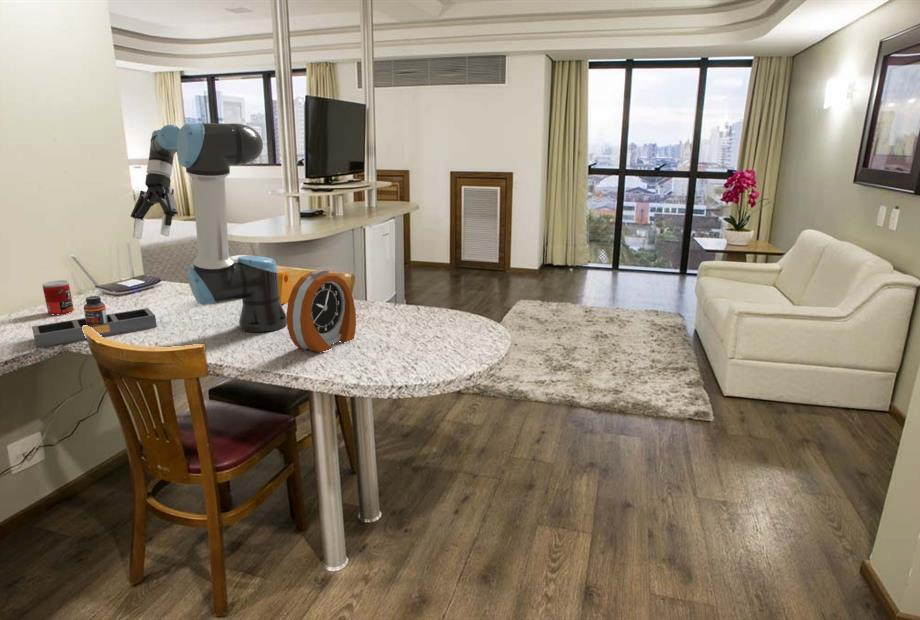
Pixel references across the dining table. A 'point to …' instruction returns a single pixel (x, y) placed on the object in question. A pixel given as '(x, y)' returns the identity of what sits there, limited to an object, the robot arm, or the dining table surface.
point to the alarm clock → (320, 311)
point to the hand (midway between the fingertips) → (150, 236)
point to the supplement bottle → (95, 311)
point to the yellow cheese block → (284, 286)
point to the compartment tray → (73, 328)
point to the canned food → (58, 297)
